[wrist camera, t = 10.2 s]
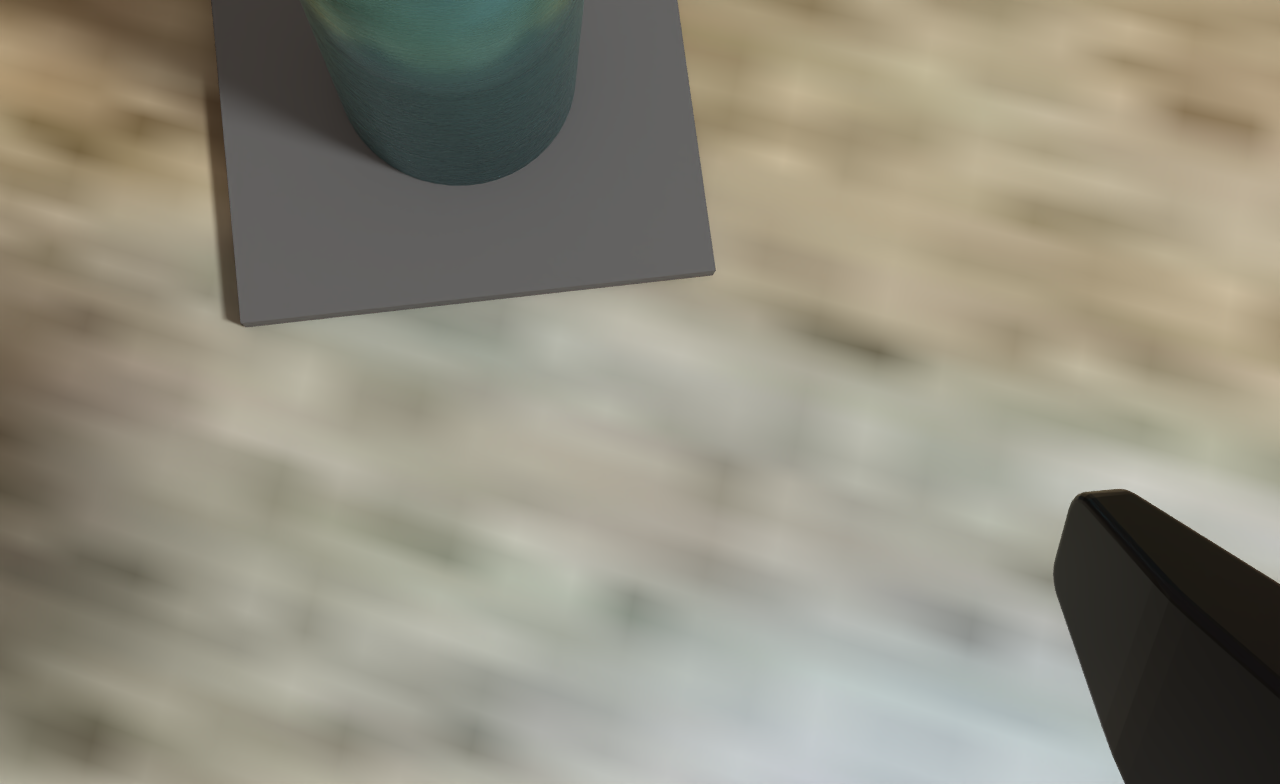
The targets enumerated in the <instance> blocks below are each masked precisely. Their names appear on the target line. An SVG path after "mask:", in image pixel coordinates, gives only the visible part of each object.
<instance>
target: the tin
mask: <svg viewBox="0 0 1280 784" xmlns="http://www.w3.org/2000/svg"><path fill="white" fill-rule="evenodd" d="M300 2H301V4H302V7H303V9H304V12H305V14H306V17H307V19H308V22H309V24H310V26H311V29H312V31H313V34H314V36H315V39H316V41H317V44H318V46H319V49H320V51H321V54H322V56H323V59H324V61H325V64H326V66H327V69H328V71H329V73H330V76H331V78H332V81H333V83H334V86H335V88H336V91H337V93H338V96H339V98H340V101H341V103H342V106H343V108H344V110H345V113H346V115H347V117H348V119H349V122H350V123H351V125H352V126H353V128H354V130H355V131H356V133H357V135H358V136H359V137H360V138H361V140H362V141H363V142H364V143H365V144H366V146H367V147H368V148H369V149H370V150H371V151H372V152H374V153H375V154H376V155H377V156H378V157H379V158H380V159H382V160H383V161H384V162H386V163H387V164H389V165H390V166H391V167H393V168H395V169H397V170H399V171H401V172H402V173H404V174H406V175H409V176H411V177H414V178H417V179H419V180H423V181H427V182H431V183H435V184H442V185H450V186H467V185H475V184H483V183H486V182H490V181H494V180H498V179H500V178H503V177H505V176H508V175H510V174H513V173H514V172H516V171H518V170H520V169H521V168H523V167H525V166H526V165H528V164H529V163H530V162H532V161H533V160H534V159H536V158H537V157H538V156H539V155H540V154H541V153H542V152H543V151H544V150H545V149H546V148H547V147H548V146H549V145H550V144H551V143H552V141H553V140H554V139H555V137H556V136H557V135H558V133H559V131H560V130H561V128H562V126H563V124H564V123H565V121H566V118H567V116H568V113H569V111H570V108H571V105H572V101H573V97H574V92H575V83H576V74H577V64H578V55H579V45H580V36H581V26H582V16H583V7H584V0H300Z"/></svg>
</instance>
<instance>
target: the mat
mask: <svg viewBox="0 0 1280 784" xmlns="http://www.w3.org/2000/svg"><path fill="white" fill-rule="evenodd" d="M211 3H212V14H213V25H214V36H215V47H216V58H217V69H218V80H219V91H220V102H221V113H222V124H223V135H224V146H225V157H226V168H227V179H228V190H229V201H230V212H231V223H232V234H233V245H234V256H235V267H236V278H237V289H238V300H239V311H240V322H241V324H242V325H244V326H245V327H253V326H262V325H271V324H279V323H288V322H297V321H306V320H315V319H324V318H333V317H342V316H351V315H360V314H369V313H378V312H387V311H396V310H405V309H414V308H423V307H432V306H441V305H450V304H459V303H468V302H477V301H486V300H495V299H504V298H513V297H522V296H531V295H540V294H549V293H557V292H566V291H575V290H584V289H593V288H602V287H611V286H620V285H629V284H638V283H647V282H656V281H665V280H674V279H683V278H692V277H701V276H710V275H713V274H714V272H715V271H716V270H715V263H714V256H713V249H712V242H711V235H710V228H709V221H708V213H707V206H706V199H705V192H704V185H703V178H702V171H701V164H700V157H699V150H698V143H697V136H696V129H695V122H694V115H693V108H692V101H691V94H690V87H689V80H688V73H687V66H686V59H685V52H684V45H683V38H682V31H681V23H680V16H679V9H678V2H677V0H584V7H583V16H582V26H581V36H580V45H579V55H578V64H577V74H576V83H575V92H574V97H573V101H572V105H571V108H570V111H569V113H568V116H567V118H566V121H565V123H564V124H563V126H562V128H561V130H560V131H559V133H558V135H557V136H556V137H555V139H554V140H553V141H552V143H551V144H550V145H549V146H548V147H547V148H546V149H545V150H544V151H543V152H542V153H541V154H540V155H539V156H538V157H537V158H536V159H534V160H533V161H532V162H530V163H529V164H528V165H526V166H525V167H523V168H521V169H520V170H518V171H516V172H514V173H513V174H510V175H508V176H505V177H503V178H500V179H498V180H494V181H490V182H486V183H483V184H475V185H467V186H450V185H442V184H435V183H431V182H427V181H423V180H419V179H417V178H414V177H411V176H409V175H406V174H404V173H402V172H401V171H399V170H397V169H395V168H393V167H391V166H390V165H389V164H387V163H386V162H384V161H383V160H382V159H380V158H379V157H378V156H377V155H376V154H375V153H374V152H372V151H371V150H370V149H369V148H368V147H367V146H366V144H365V143H364V142H363V141H362V140H361V138H360V137H359V136H358V135H357V133H356V131H355V130H354V128H353V126H352V125H351V123H350V122H349V119H348V117H347V115H346V113H345V110H344V108H343V106H342V103H341V101H340V98H339V96H338V93H337V91H336V88H335V86H334V83H333V81H332V78H331V76H330V73H329V71H328V69H327V66H326V64H325V61H324V59H323V56H322V54H321V51H320V49H319V46H318V44H317V41H316V39H315V36H314V34H313V31H312V29H311V26H310V24H309V22H308V19H307V17H306V14H305V12H304V9H303V7H302V4H301V2H300V0H211Z"/></svg>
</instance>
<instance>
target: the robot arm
mask: <svg viewBox="0 0 1280 784" xmlns="http://www.w3.org/2000/svg"><path fill="white" fill-rule="evenodd" d="M1053 577H1054V586H1055V591H1056V594H1057V597H1058V600H1059V603H1060V606H1061V609H1062V612H1063V615H1064V618H1065V621H1066V624H1067V627H1068V629H1069V632H1070V635H1071V638H1072V641H1073V644H1074V647H1075V650H1076V653H1077V656H1078V659H1079V662H1080V664H1081V667H1082V670H1083V673H1084V676H1085V679H1086V682H1087V685H1088V688H1089V691H1090V694H1091V697H1092V700H1093V702H1094V705H1095V708H1096V711H1097V714H1098V717H1099V720H1100V723H1101V726H1102V729H1103V731H1104V734H1105V737H1106V739H1107V742H1108V745H1109V747H1110V750H1111V753H1112V755H1113V758H1114V760H1115V762H1116V765H1117V767H1118V769H1119V771H1120V774H1121V776H1122V778H1123V780H1124V783H1125V784H1280V584H1279V583H1277V582H1276V581H1274V580H1273V579H1271V578H1269V577H1268V576H1266V575H1265V574H1263V573H1261V572H1260V571H1258V570H1256V569H1255V568H1253V567H1252V566H1250V565H1248V564H1247V563H1245V562H1244V561H1242V560H1240V559H1239V558H1237V557H1236V556H1234V555H1232V554H1231V553H1229V552H1228V551H1226V550H1224V549H1223V548H1221V547H1220V546H1218V545H1216V544H1215V543H1213V542H1212V541H1210V540H1208V539H1207V538H1205V537H1204V536H1202V535H1200V534H1199V533H1197V532H1196V531H1194V530H1192V529H1191V528H1189V527H1188V526H1186V525H1184V524H1183V523H1181V522H1180V521H1178V520H1176V519H1175V518H1173V517H1172V516H1170V515H1168V514H1167V513H1165V512H1164V511H1162V510H1160V509H1159V508H1157V507H1156V506H1154V505H1152V504H1151V503H1149V502H1148V501H1146V500H1144V499H1143V498H1141V497H1140V496H1138V495H1136V494H1134V493H1132V492H1130V491H1128V490H1124V489H1112V490H1102V491H1091V492H1083V493H1081V494H1079V495H1077V496H1076V497H1075V498H1074V499H1073V501H1072V502H1071V505H1070V507H1069V510H1068V514H1067V518H1066V521H1065V525H1064V529H1063V532H1062V536H1061V540H1060V543H1059V547H1058V551H1057V554H1056V558H1055V562H1054V570H1053Z"/></svg>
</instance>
